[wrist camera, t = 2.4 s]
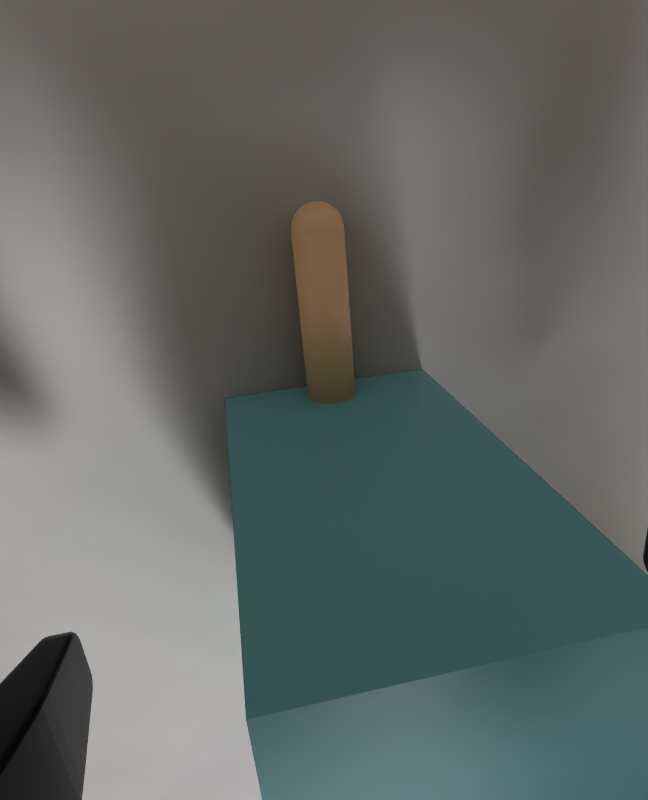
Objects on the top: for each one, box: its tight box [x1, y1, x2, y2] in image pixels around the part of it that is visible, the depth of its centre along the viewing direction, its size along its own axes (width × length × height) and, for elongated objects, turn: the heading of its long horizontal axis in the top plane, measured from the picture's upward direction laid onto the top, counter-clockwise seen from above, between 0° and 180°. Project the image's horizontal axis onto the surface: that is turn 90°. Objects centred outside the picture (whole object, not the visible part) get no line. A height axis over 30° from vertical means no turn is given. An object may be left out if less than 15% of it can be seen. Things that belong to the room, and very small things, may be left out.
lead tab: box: [225, 201, 648, 800], centre depth 8 cm, size 4×8×7 cm, turn 5°
